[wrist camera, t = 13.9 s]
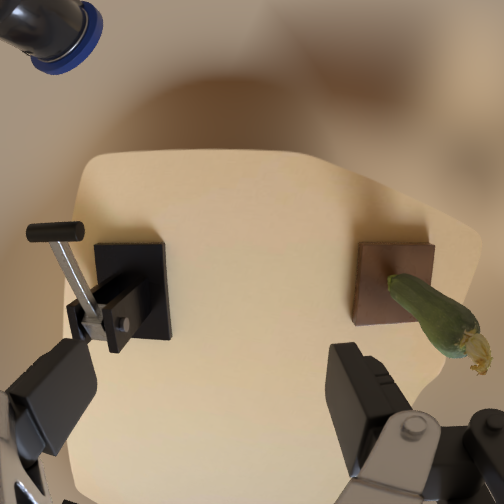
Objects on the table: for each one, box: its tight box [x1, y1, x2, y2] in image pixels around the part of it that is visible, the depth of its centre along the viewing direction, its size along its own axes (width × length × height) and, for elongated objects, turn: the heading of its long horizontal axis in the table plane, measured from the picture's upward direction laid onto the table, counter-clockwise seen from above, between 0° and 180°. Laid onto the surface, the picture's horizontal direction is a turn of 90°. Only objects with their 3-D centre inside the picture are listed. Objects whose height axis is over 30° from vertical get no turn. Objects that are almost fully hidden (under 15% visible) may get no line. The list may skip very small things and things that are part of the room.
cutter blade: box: [26, 221, 107, 341], centre depth 24 cm, size 13×5×2 cm, turn 0°
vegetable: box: [387, 273, 493, 375], centre depth 26 cm, size 4×4×20 cm
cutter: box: [66, 243, 172, 353], centre depth 32 cm, size 12×9×12 cm
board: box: [352, 243, 435, 326], centre depth 36 cm, size 10×10×2 cm
